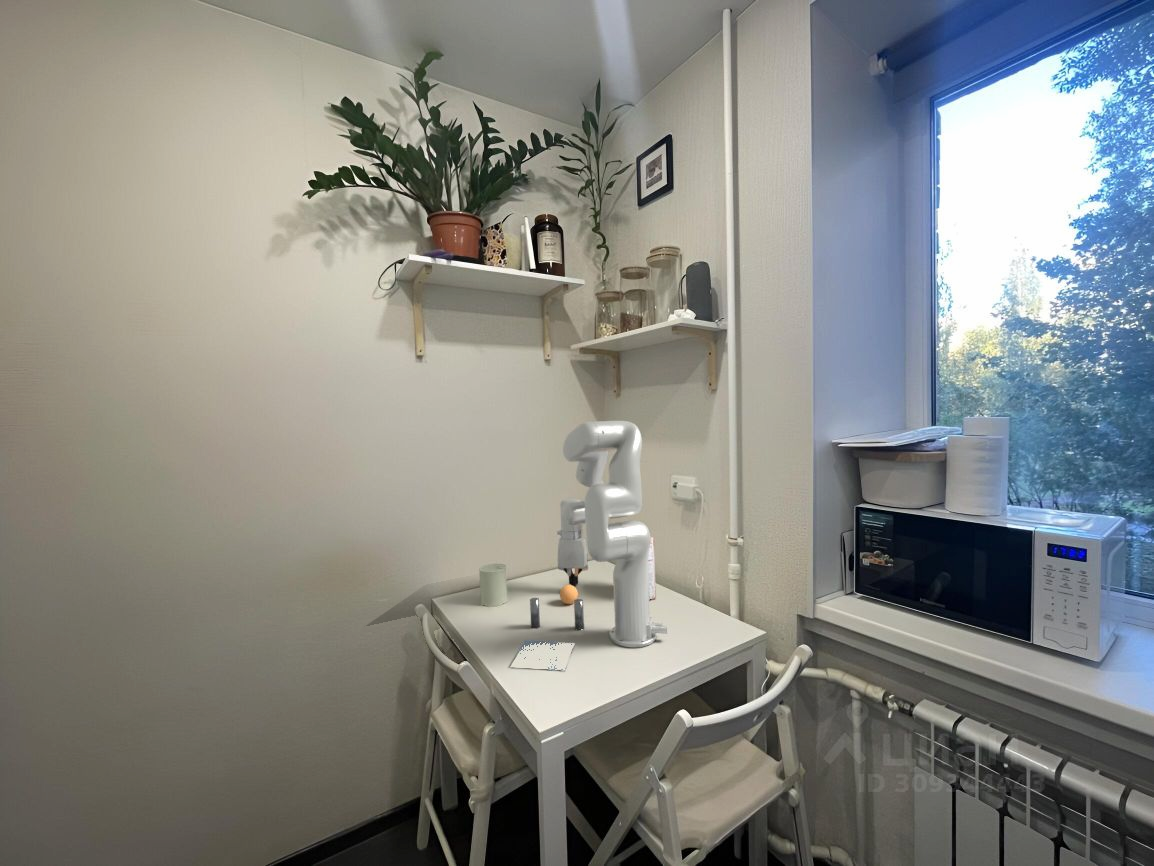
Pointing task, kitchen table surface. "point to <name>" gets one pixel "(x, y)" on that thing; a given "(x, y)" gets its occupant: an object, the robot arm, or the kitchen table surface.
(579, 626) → the inner post
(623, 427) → the robot arm
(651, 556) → the cracker box
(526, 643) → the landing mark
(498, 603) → the can
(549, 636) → the kitchen table surface
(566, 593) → the ball
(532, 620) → the outer post
